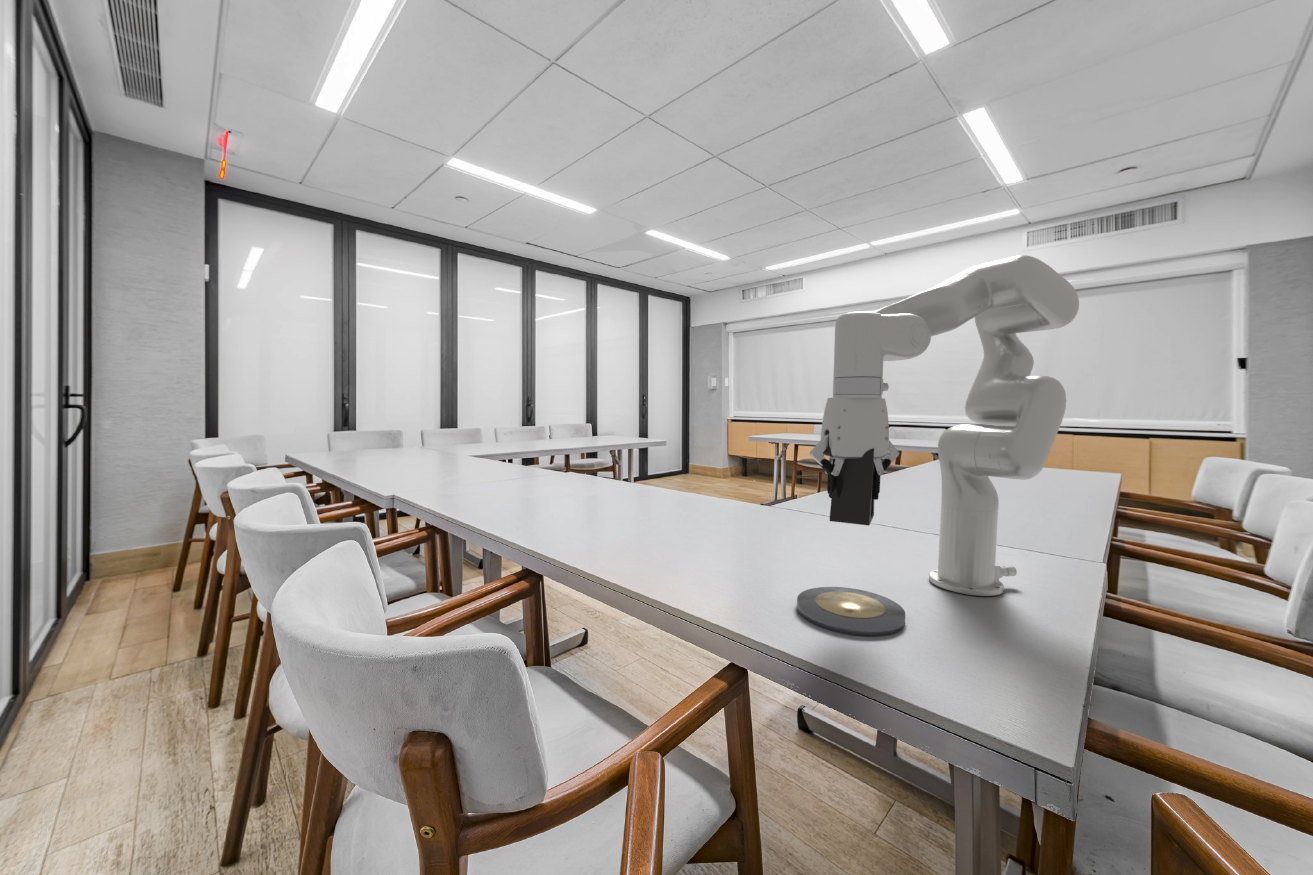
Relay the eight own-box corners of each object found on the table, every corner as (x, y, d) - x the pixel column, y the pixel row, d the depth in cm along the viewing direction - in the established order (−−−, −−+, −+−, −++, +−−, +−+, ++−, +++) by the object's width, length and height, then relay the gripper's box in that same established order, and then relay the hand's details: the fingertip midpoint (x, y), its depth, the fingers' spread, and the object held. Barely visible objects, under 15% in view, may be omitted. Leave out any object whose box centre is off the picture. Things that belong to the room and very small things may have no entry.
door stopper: (837, 511, 90) (840, 444, 89) (874, 515, 87) (877, 445, 86) (829, 521, 82) (831, 447, 81) (869, 526, 79) (872, 449, 78)
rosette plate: (867, 592, 95) (868, 583, 95) (928, 633, 79) (929, 622, 78) (781, 596, 93) (781, 587, 93) (825, 639, 76) (825, 628, 76)
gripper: (891, 391, 88) (887, 493, 89) (797, 389, 86) (794, 495, 87) (920, 389, 81) (915, 502, 82) (818, 388, 78) (814, 503, 79)
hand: (853, 497), depth 84 cm, fingers closed on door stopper, 5 cm apart
